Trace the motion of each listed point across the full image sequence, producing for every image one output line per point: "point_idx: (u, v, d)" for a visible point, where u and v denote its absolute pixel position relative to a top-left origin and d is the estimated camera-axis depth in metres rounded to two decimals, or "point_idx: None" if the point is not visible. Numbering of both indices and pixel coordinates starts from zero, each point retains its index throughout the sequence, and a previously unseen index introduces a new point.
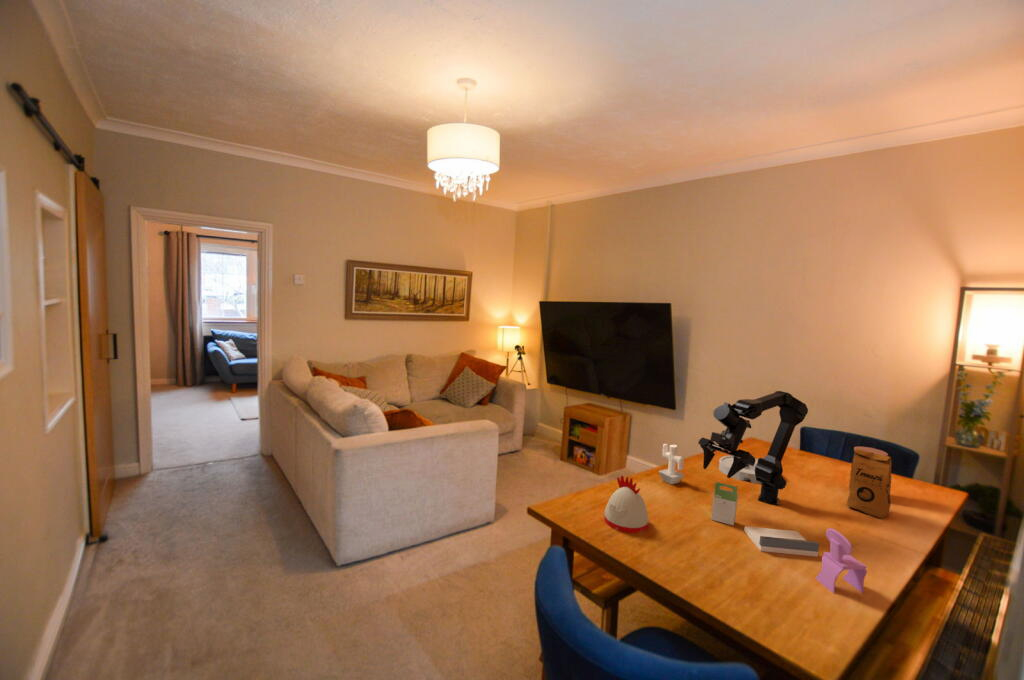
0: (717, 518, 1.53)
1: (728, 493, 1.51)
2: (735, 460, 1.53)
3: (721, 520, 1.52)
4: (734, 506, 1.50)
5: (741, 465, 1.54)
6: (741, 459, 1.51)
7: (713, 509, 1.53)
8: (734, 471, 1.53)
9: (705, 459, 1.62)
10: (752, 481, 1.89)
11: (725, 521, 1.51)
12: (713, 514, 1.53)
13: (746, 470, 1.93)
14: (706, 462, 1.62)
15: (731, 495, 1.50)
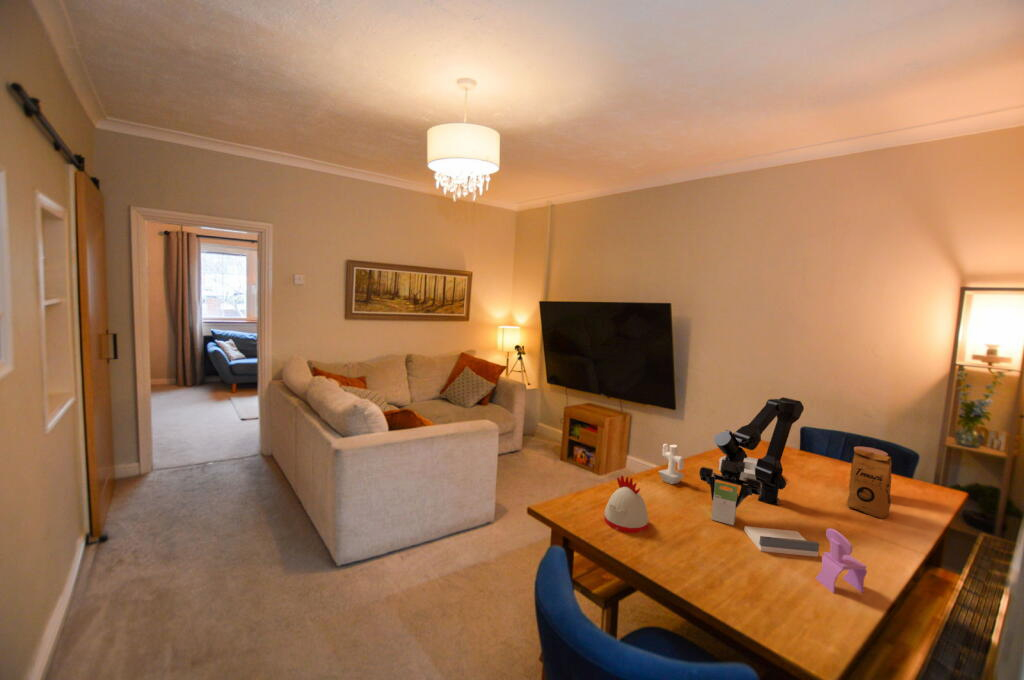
0: (717, 518, 1.53)
1: (728, 493, 1.51)
2: (743, 488, 1.51)
3: (721, 520, 1.52)
4: (734, 506, 1.50)
5: (745, 493, 1.53)
6: (751, 486, 1.50)
7: (713, 509, 1.53)
8: (741, 499, 1.51)
9: (713, 490, 1.55)
10: None
11: (725, 521, 1.51)
12: (713, 514, 1.53)
13: (746, 470, 1.93)
14: None
15: (731, 495, 1.50)
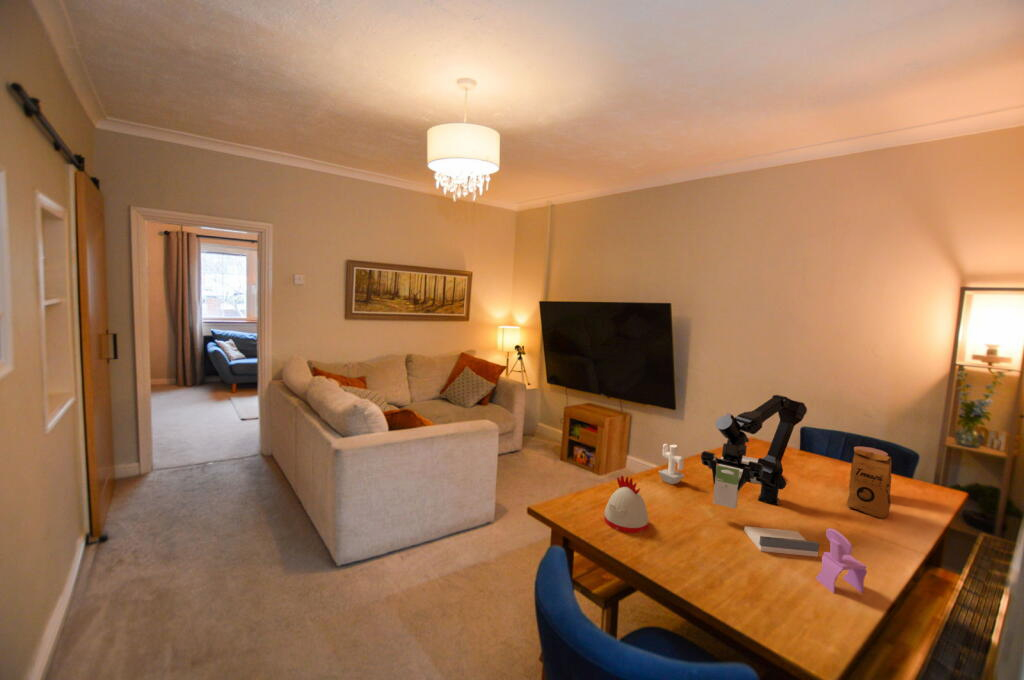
0: (719, 502, 1.52)
1: (729, 476, 1.50)
2: (745, 471, 1.50)
3: (723, 503, 1.52)
4: (736, 489, 1.49)
5: (747, 477, 1.52)
6: (752, 470, 1.49)
7: (715, 493, 1.53)
8: (743, 482, 1.50)
9: (714, 474, 1.55)
10: (752, 481, 1.89)
11: (727, 504, 1.51)
12: (715, 498, 1.53)
13: None
14: (715, 477, 1.54)
15: (733, 478, 1.50)
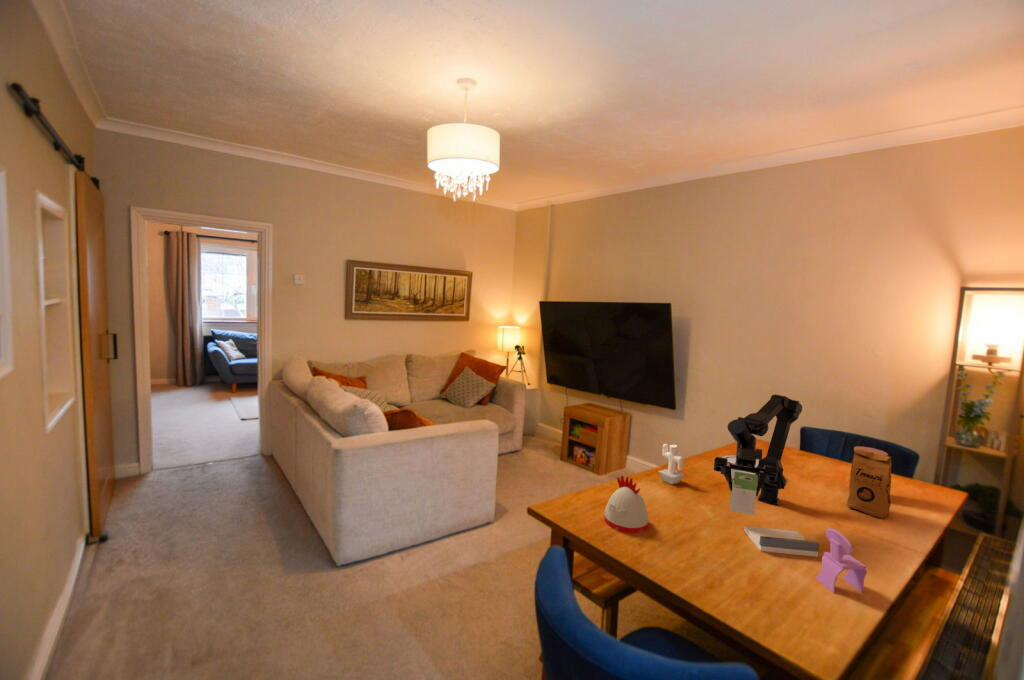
0: (737, 509, 1.47)
1: (748, 482, 1.46)
2: (762, 476, 1.47)
3: (741, 511, 1.47)
4: (754, 495, 1.45)
5: (762, 481, 1.49)
6: (769, 474, 1.46)
7: (732, 500, 1.48)
8: (760, 487, 1.46)
9: (730, 480, 1.49)
10: None
11: (745, 511, 1.46)
12: (732, 505, 1.48)
13: None
14: (731, 483, 1.49)
15: (752, 484, 1.45)
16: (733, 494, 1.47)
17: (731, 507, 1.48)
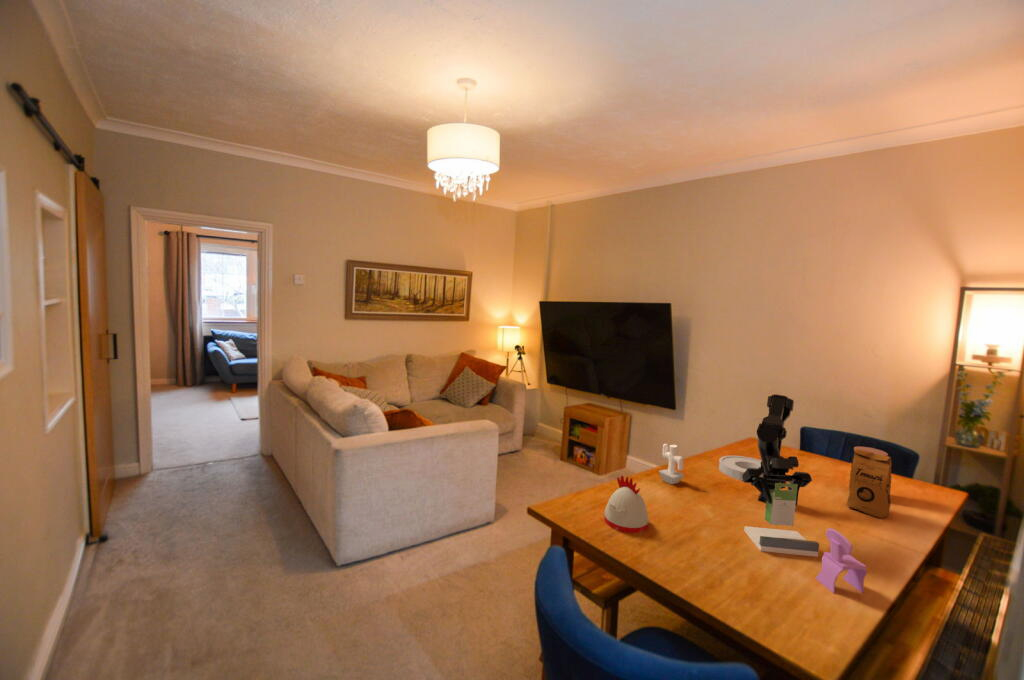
0: (777, 522, 1.40)
1: (788, 492, 1.39)
2: None
3: (781, 523, 1.40)
4: (794, 505, 1.39)
5: None
6: (804, 481, 1.41)
7: (773, 513, 1.40)
8: None
9: (768, 492, 1.41)
10: None
11: (785, 523, 1.40)
12: (773, 518, 1.40)
13: None
14: None
15: (791, 494, 1.39)
16: (774, 507, 1.40)
17: (771, 520, 1.40)
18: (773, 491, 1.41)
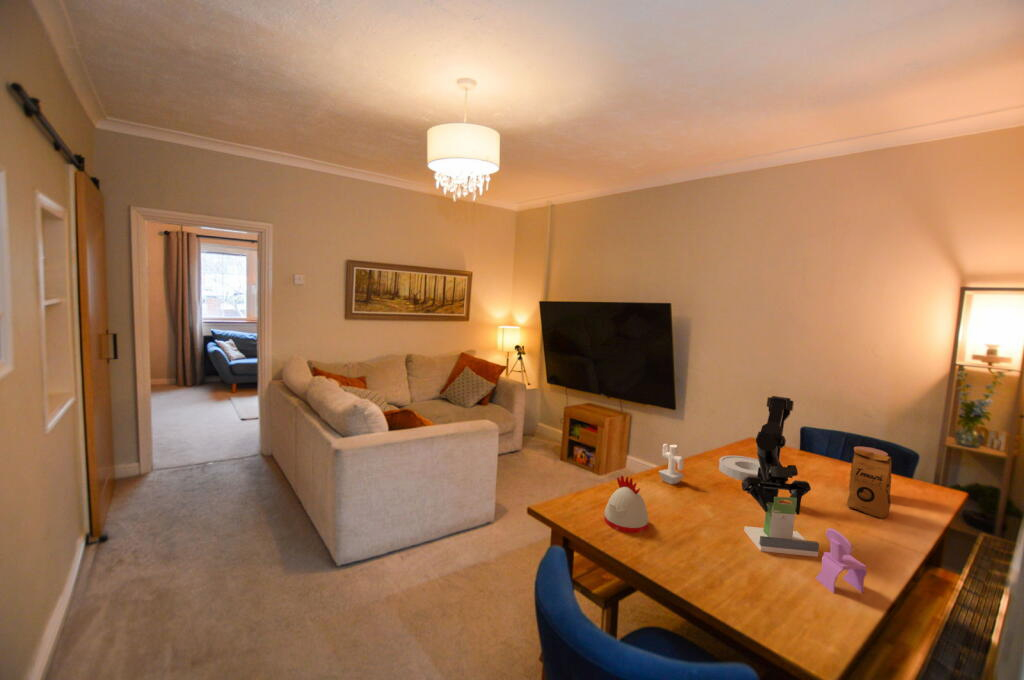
0: (776, 535, 1.40)
1: (787, 506, 1.39)
2: (799, 493, 1.42)
3: (780, 536, 1.40)
4: (793, 519, 1.39)
5: None
6: (807, 490, 1.41)
7: (771, 526, 1.40)
8: None
9: (764, 500, 1.42)
10: None
11: (784, 536, 1.40)
12: (771, 531, 1.40)
13: (746, 470, 1.93)
14: None
15: (790, 508, 1.39)
16: (772, 520, 1.40)
17: (770, 533, 1.41)
18: (772, 504, 1.41)
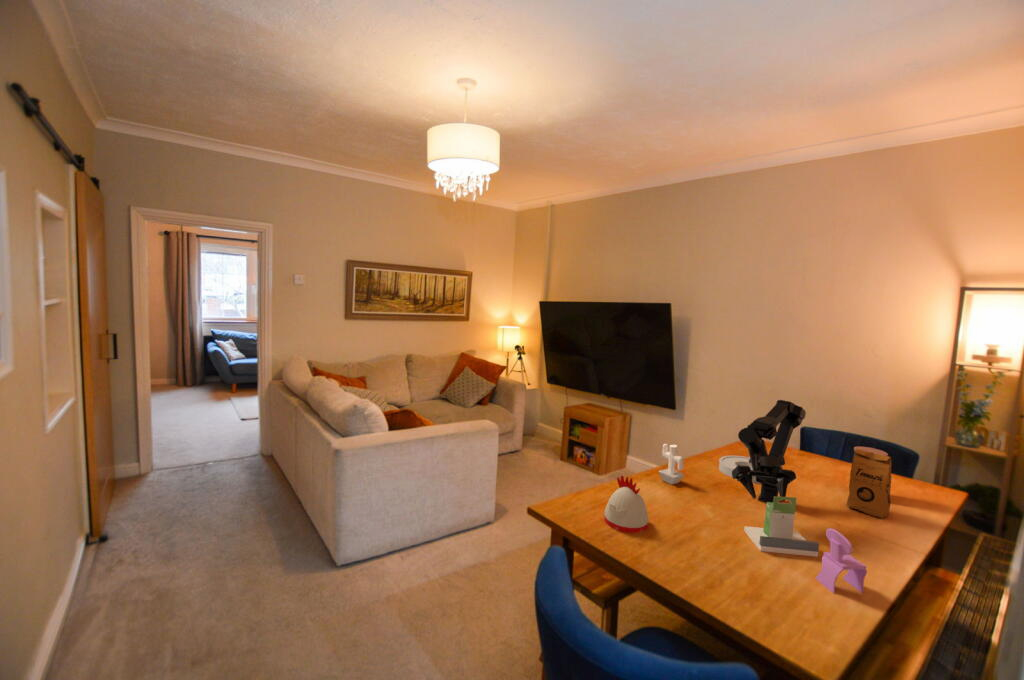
0: (776, 535, 1.40)
1: (786, 506, 1.39)
2: (786, 481, 1.51)
3: (779, 536, 1.40)
4: (793, 519, 1.40)
5: None
6: (792, 478, 1.51)
7: (771, 526, 1.40)
8: None
9: (753, 488, 1.50)
10: (752, 481, 1.89)
11: (784, 536, 1.40)
12: (771, 531, 1.40)
13: None
14: None
15: (790, 507, 1.39)
16: (772, 520, 1.40)
17: (770, 533, 1.41)
18: (772, 504, 1.42)
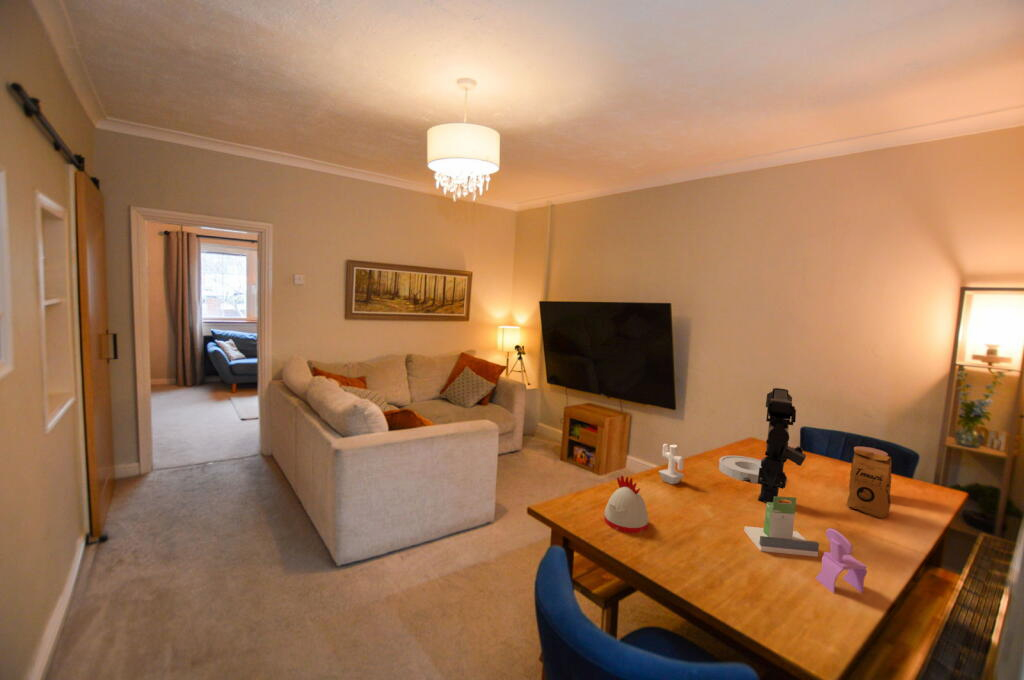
0: (776, 535, 1.40)
1: (786, 506, 1.39)
2: (783, 462, 1.58)
3: (779, 536, 1.40)
4: (793, 519, 1.40)
5: None
6: (786, 459, 1.59)
7: (771, 526, 1.40)
8: None
9: None
10: (752, 481, 1.89)
11: (784, 536, 1.40)
12: (771, 531, 1.40)
13: (746, 470, 1.93)
14: None
15: (790, 507, 1.39)
16: (772, 520, 1.40)
17: (770, 533, 1.41)
18: (772, 504, 1.42)
